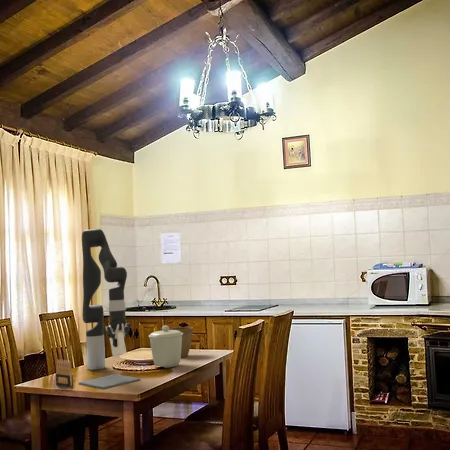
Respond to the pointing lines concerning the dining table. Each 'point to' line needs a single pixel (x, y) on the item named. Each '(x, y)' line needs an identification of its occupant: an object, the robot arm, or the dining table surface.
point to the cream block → (118, 345)
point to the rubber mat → (109, 381)
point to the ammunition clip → (64, 373)
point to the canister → (166, 347)
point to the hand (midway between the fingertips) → (118, 346)
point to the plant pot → (185, 339)
